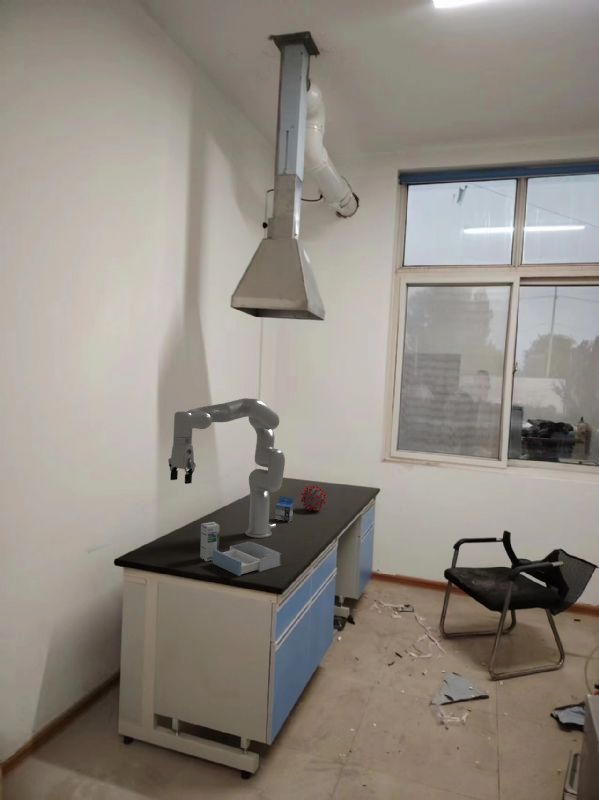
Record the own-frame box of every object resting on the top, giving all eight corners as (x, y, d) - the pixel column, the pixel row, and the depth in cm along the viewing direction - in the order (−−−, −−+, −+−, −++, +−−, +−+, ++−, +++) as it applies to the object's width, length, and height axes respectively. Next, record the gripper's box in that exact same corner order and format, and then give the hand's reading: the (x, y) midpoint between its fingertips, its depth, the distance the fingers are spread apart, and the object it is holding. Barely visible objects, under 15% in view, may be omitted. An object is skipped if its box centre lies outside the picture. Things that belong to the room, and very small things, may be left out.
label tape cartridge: (274, 519, 274) (275, 497, 274) (278, 518, 277) (279, 495, 277) (289, 522, 270) (290, 499, 269) (292, 521, 273) (293, 498, 273)
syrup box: (206, 561, 206) (207, 526, 206) (199, 557, 211) (201, 522, 211) (218, 559, 210) (220, 524, 209) (212, 555, 214) (213, 521, 214)
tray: (235, 557, 212) (235, 544, 212) (261, 569, 200) (262, 555, 200) (212, 563, 204) (213, 549, 204) (239, 576, 192) (239, 561, 192)
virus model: (325, 508, 304) (327, 483, 303) (324, 515, 289) (325, 488, 288) (301, 507, 305) (302, 482, 305) (299, 513, 290) (300, 487, 290)
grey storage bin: (250, 552, 220) (250, 541, 220) (280, 565, 206) (281, 553, 206) (229, 558, 212) (229, 546, 212) (259, 571, 198) (260, 559, 198)
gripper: (202, 442, 211) (201, 483, 211) (177, 438, 222) (175, 477, 222) (188, 443, 205) (186, 486, 205) (162, 439, 216) (161, 479, 216)
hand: (180, 481), depth 214 cm, fingers open, 9 cm apart
